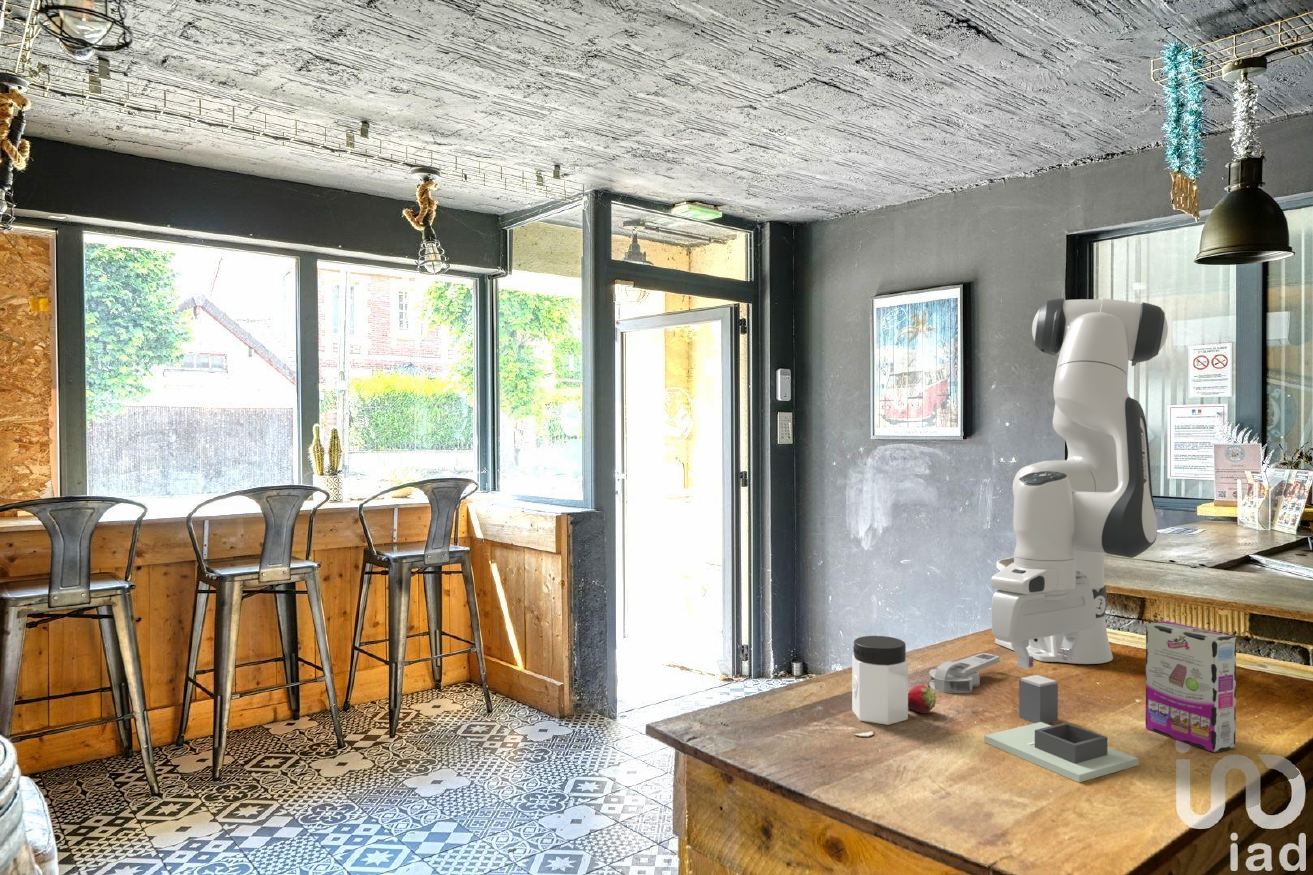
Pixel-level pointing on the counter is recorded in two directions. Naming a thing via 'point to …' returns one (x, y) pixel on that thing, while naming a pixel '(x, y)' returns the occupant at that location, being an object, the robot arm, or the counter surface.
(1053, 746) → the header board
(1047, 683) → the plug
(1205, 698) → the candy bar box
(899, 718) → the jar
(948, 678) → the zipper pull
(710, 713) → the counter surface
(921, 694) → the fruit
